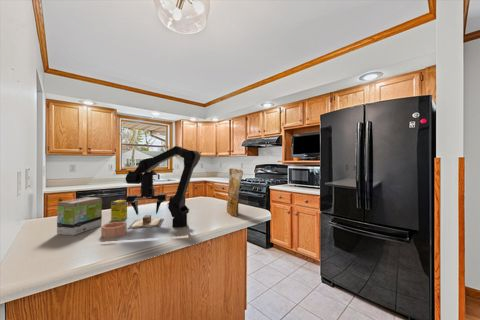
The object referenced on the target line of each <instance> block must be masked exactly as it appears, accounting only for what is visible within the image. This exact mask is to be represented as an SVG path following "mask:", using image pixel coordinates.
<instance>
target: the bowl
mask: <svg viewBox="0 0 480 320" xmlns="http://www.w3.org/2000/svg"><path fill="white" fill-rule="evenodd" d="M127 226H128V224H127V222H125V221H117V222H116V221H114V222H109V223H104V224H103V225H101V226H100V227H101V228H100V229H101V230H100V231H101V234H100V236H101V238H104V239H112V238H118V237H120V236H121V237H122V236H124V235H125V234H126V233H127V231H128V227H127Z"/></svg>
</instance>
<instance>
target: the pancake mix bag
mask: <svg viewBox="0 0 480 320" xmlns="http://www.w3.org/2000/svg"><path fill="white" fill-rule="evenodd" d="M228 170H229V171H228V172H229V175H228V189H227V190H228V191H227V201H226V202H227V203H226V213H228V214H229V215H230V216H231V217H238V216H239V195H240V187H241V182H242V179H243V176H244V171H243V170H242V169H237V168H229V169H228Z"/></svg>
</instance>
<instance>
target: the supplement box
mask: <svg viewBox="0 0 480 320" xmlns="http://www.w3.org/2000/svg"><path fill="white" fill-rule="evenodd" d="M110 215H111V216H110V221H123V220H125V219H127V218H128V202H126V199H123V200H122V199H117V200H114V201H110Z"/></svg>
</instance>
